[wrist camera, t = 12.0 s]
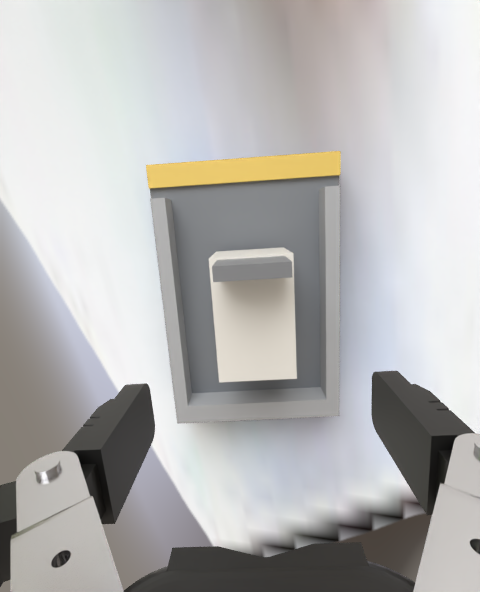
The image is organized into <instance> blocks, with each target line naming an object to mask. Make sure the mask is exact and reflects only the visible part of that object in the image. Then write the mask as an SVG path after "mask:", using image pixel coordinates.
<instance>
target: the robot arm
mask: <svg viewBox="0 0 480 592" xmlns="http://www.w3.org/2000/svg"><path fill="white" fill-rule="evenodd" d="M372 420H373V425H374V428H375V430H376V432H377V434H378V435H379V437H380V439H381V440H382V442H383V444H384V445H385V447H386V449H387V450H388V452H389V454H390V455H391V457H392V458H393V460H394V462H395V463H396V465H397V467H398V468H399V470H400V472H401V473H402V475H403V477H404V478H405V480H406V482H407V483H408V485H409V486H410V488H411V490H412V491H413V493H414V495H415V496H416V498H417V500H418V501H419V503H420V505H421V506H422V508H423V509H424V511H425V513H426V514H427V515H432V518H431V523H430V527H429V530H428V534H427V538H426V542H425V546H424V550H423V554H422V559H421V562H420V566H419V570H418V574H417V578H416V582H413V581H412V580H410V579H408V578H407V577H405V576H403V575H401V574H400V573H398V572H396V571H394V570H391V569H389V568H387V567H384V566H382V565H379V564H376V563H372V562H368V561H367V559H366V556H365V553H364V550H363V547H362V545H361V543H324V544H311V545H308V546H305V547H301V548H298V549H295V550H291V551H288V552H285V553H281V554H278V555H275V556H271V557H259V556H255V555H251V554H247V553H242V552H238V551H234V550H230V549H226V548H222V547H184V548H172V552H171V556H170V560H169V564H168V566H167V567H164V568H161V569H159V570H157V571H154V572H152V573H150V574H148V575H146V576H145V577H143V578H141V579H139V580H138V581H136V582H135V583H133V584H132V585H131V586H129V587H128V588H127V589H126V590H124V591H123V588H122V585H121V582H120V579H119V576H118V573H117V570H116V567H115V564H114V560H113V557H112V554H111V551H110V548H109V545H108V542H107V539H106V536H105V533H104V530H103V526H102V524H115V522H116V520H117V518H118V516H119V513H120V511H121V509H122V507H123V505H124V503H125V500H126V498H127V496H128V494H129V492H130V489H131V487H132V485H133V483H134V480H135V478H136V476H137V474H138V472H139V470H140V468H141V465H142V463H143V461H144V459H145V457H146V454H147V452H148V450H149V448H150V446H151V443H152V441H153V438H154V432H155V422H154V415H153V408H152V401H151V394H150V389H149V386H148V384H131V385H125V386H124V387H123V388H122V390H121V391H120V392H119V394H118V395H117V396H116V397H115V399H110V400H109V401H107V402H106V403H104V404H103V405H101V406H100V407H98V408H97V409H96V411H95V412H94V413H93V414H92V415H91V417H90V419H88V420H87V421H86V423H85V424H84V425H83V427H81V429H80V430H79V431H78V432H77V433H76V434H75V436H74V437H73V438H72V439H71V440H70V442H69V443H68V444H67V445H66V447H65V448H64V449H63V450H62V451H60V452H55V453H51V454H48V455H45V456H43V457H41V458H39V459H37V460H35V461H34V462H33V463H31V464H29V465H28V466H27V467H26V468H25V469H24V470H23V471H22V472H21V473H20V474H19V476H18V478H17V480H16V481H15V482H11V483H7V484H4V485H0V587H1V585H2V583H3V582H5V581H8V580H11V591H10V592H480V434H476V433H474V432H473V431H472V430H471V429H470V428H469V427H468V426H467V425H466V424H465V423H464V422H463V421H461V420H460V419H459V418H458V417H457V416H456V415H455V414H454V413H453V412H452V411H451V410H450V411H449V409H448V408H447V407H446V406H445V405H444V404H443V403H441V402H440V400H439V399H438V398H437V397H436V396H434V395H433V394H432V393H431V392H430V391H428V390H426V389H424V388H422V387H420V386H418V385H416V384H410V383H409V382H408V381H407V380H406V379H405V378H404V377H403V376H402V375H401V374H400V373H399V372H398V371H383V372H374V373H373V376H372Z"/></svg>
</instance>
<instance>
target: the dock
mask: <svg viewBox="0 0 480 592" xmlns="http://www.w3.org/2000/svg"><path fill="white" fill-rule="evenodd" d="M146 169H147V178H148V186H149V188H150V193H151V199H150V200H151V209H152V217H153V225H154V234H155V242H156V250H157V258H158V267H159V275H160V283H161V292H162V300H163V308H164V316H165V325H166V333H167V341H168V350H169V358H170V366H171V374H172V383H173V391H174V399H175V408H176V416H177V423H199V422H220V421H242V420H264V419H285V418H307V417H329V416H339V340H340V186H339V175H340V151H333V152H320V153H306V154H292V155H278V156H265V157H251V158H237V159H223V160H210V161H196V162H182V163H168V164H155V165H146ZM281 247H284V248H285V249H287V250H289V251H290V252H292V253H293V257H294V294H295V330H296V367H297V379H279V380H259V381H239V382H219V375H218V363H217V351H216V340H215V328H214V316H213V304H212V293H211V281H210V269H209V258H210V257H211V256H212V255H213V254H214V253H215V252H218V251H233V250H249V249H265V248H281Z"/></svg>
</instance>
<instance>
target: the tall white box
mask: <svg viewBox="0 0 480 592" xmlns="http://www.w3.org/2000/svg"><path fill="white" fill-rule="evenodd" d="M209 269H210V281H211V293H212V304H213V316H214V328H215V340H216V351H217V363H218V375H219V382H239V381H259V380H279V379H297V367H296V330H295V294H294V257H293V253H292V252H290V251H289V250H287V249H285V248H284V247H281V248H265V249H249V250H233V251H218V252H215V253H214V254H213V255H212V256H211V257H210V258H209Z"/></svg>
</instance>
